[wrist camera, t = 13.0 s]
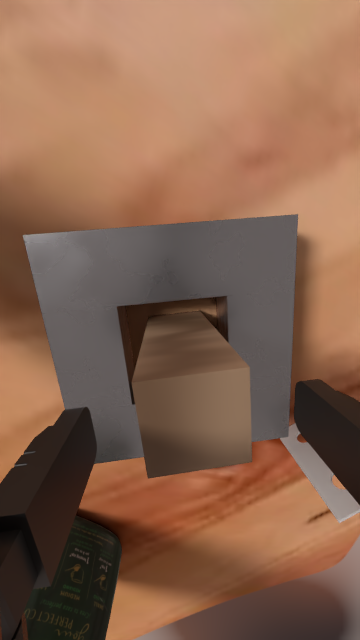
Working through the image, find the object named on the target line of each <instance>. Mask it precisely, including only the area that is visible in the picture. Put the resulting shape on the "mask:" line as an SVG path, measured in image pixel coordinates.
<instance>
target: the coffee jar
mask: <svg viewBox="0 0 360 640" xmlns="http://www.w3.org/2000/svg"><path fill="white" fill-rule="evenodd" d="M121 554H122V548H121V544H120V541H119V539H118V538H117V536H116V535H115V534H114V533H112V532H111V531H109V530H107V529H105V528H104V527H102V526H100V525H98V524H96V523H93V522H91V521H89V520H86V519H84V518H81V517H78V516H75V519H74V522H73V525H72V527H71V530H70V533H69V536H68V539H67V542H66V545H65V547H64V550H63V553H62V556H61V559H60V562H59V565H58V567H57V570H56V573H55V576H54V579H53V582H52V584H51V586H49V587H43V588H37V589H33V590H32V592H31V595H30V597H29V599H28V602H27V604H26V607H25V609H24V613H25V617H26V625H27V633H28V640H105V638H106V633H107V628H108V624H109V619H110V614H111V609H112V604H113V599H114V594H115V589H116V584H117V579H118V573H119V567H120V561H121Z"/></svg>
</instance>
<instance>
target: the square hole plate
mask: <svg viewBox="0 0 360 640" xmlns="http://www.w3.org/2000/svg"><path fill="white" fill-rule="evenodd" d="M297 225H298V214H297V215H284V216H270V217H257V218H244V219H230V220H217V221H204V222H190V223H177V224H164V225H151V226H137V227H124V228H111V229H97V230H84V231H71V232H57V233H44V234H31V235H23V238H24V242H25V247H26V251H27V255H28V259H29V263H30V267H31V271H32V275H33V279H34V283H35V288H36V292H37V296H38V300H39V304H40V308H41V312H42V316H43V320H44V325H45V329H46V333H47V337H48V341H49V345H50V349H51V353H52V357H53V361H54V366H55V370H56V374H57V378H58V382H59V386H60V390H61V394H62V398H63V402H64V407H65V410H66V409H73V408H81V407H88V408H89V410H90V414H91V418H92V423H93V427H94V432H95V436H96V441H97V453H96V459H95V462H94V464H96V463H104V462H111V461H118V460H125V459H132V458H140V457H144V452H143V447H142V441H141V435H140V429H139V423H138V418H137V412H136V406H135V400H134V394H133V389H132V379H133V375H134V371H135V367H134V360H133V353H132V346H131V339H130V333H129V326H128V319H127V312H126V305H136V304H147V303H157V302H167V301H178V300H188V299H199V298H209V297H216V307H217V329H218V332H219V333H220V334H221V335H222V336H223V338H224V339H225V340H226V341H227V342H228V343H229V344H230V345H231V347H232V348H233V349H234V350H235V351H236V352H237V353H238V354H239V356H240V357H241V358H242V359H243V360H244V361H245V362H246V363H247V365H248V366H249V367H250V399H251V440H252V442H255V441H262V440H269V439H277V438H284V437H288V435H289V412H290V388H291V365H292V342H293V318H294V295H295V272H296V248H297Z"/></svg>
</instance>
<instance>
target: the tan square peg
mask: <svg viewBox="0 0 360 640" xmlns="http://www.w3.org/2000/svg"><path fill="white" fill-rule="evenodd" d="M132 389H133V394H134V400H135V406H136V412H137V418H138V423H139V429H140V435H141V441H142V447H143V452H144V458H145V464H146V470H147V476H148V478H154V477H160V476H167V475H173V474H179V473H186V472H192V471H198V470H205V469H211V468H217V467H224V466H230V465H236V464H243V463H249V462H252V440H251V399H250V367H249V366H248V365H247V363H246V362H245V361H244V360H243V359H242V358H241V357H240V356H239V354H238V353H237V352H236V351H235V350H234V349H233V348H232V347H231V345H230V344H229V343H228V342H227V341H226V340H225V339H224V338H223V336H222V335H221V334H220V333H219V332H218V331H217V330H216V329H215V327H214V326H213V325H212V324H211V323H210V322H209V321H208V320H207V318H206V317H205V316H204V315H203V314H202V313H201V312H200V311H192V312H184V313H175V314H166V315H158V316H149V318H148V322H147V326H146V329H145V333H144V337H143V341H142V345H141V348H140V352H139V356H138V360H137V364H136V367H135V371H134V375H133V379H132Z"/></svg>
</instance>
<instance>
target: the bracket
mask: <svg viewBox="0 0 360 640" xmlns="http://www.w3.org/2000/svg"><path fill="white" fill-rule="evenodd" d="M299 434H300V432H299V430H298V428H297V426H296V423H294V424H293V425H291V426H289V435H288V437H284V438H280V439H281V441H282V442H283V444H284V445H285V446H286V448H287V449H288V451H289V452H290V454H291V455H292V456H293V458H294V459H295V461H296V462H297V464H298V465H299V466H300V468H301V469H302V471H303V472H304V474H305V475H306V476H307V478H308V479H309V481H310V482H311V483H312V485H313V486H314V488H315V489H316V491H317V492H318V493H319V495H320V496H321V498H322V499H323V501H324V502H325V503H326V505H327V506H328V508H329V509H330V511H331V512H332V513H333V515H334V516H335V518H336V519H337V520H338V522H339V523H340V522H342V521H344V520H346V519H348V518H350V517H351V516H353V515H355V514H357V513H359V512H360V505H359V504H358V503H357V502H356V500H355V499H354V498H353V497H352V496H351V494H350V493H349V492H348V491H347V490H342V489H339V488H337V487H335V486H334V485H333V483H332V477H333V475H334V474H333V472H332V471H331V470H330V469H329V468H328V466H327V465H326V464H325V463H324V461H323V460H322V459H321V458H320V457H319V455H318V454H317V453H316V452H315V451H314V449H313V448H312V447H311V446H310V444H309V443H308V442H306V443H301V442H299V441H298V440H297V436H298V435H299Z"/></svg>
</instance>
